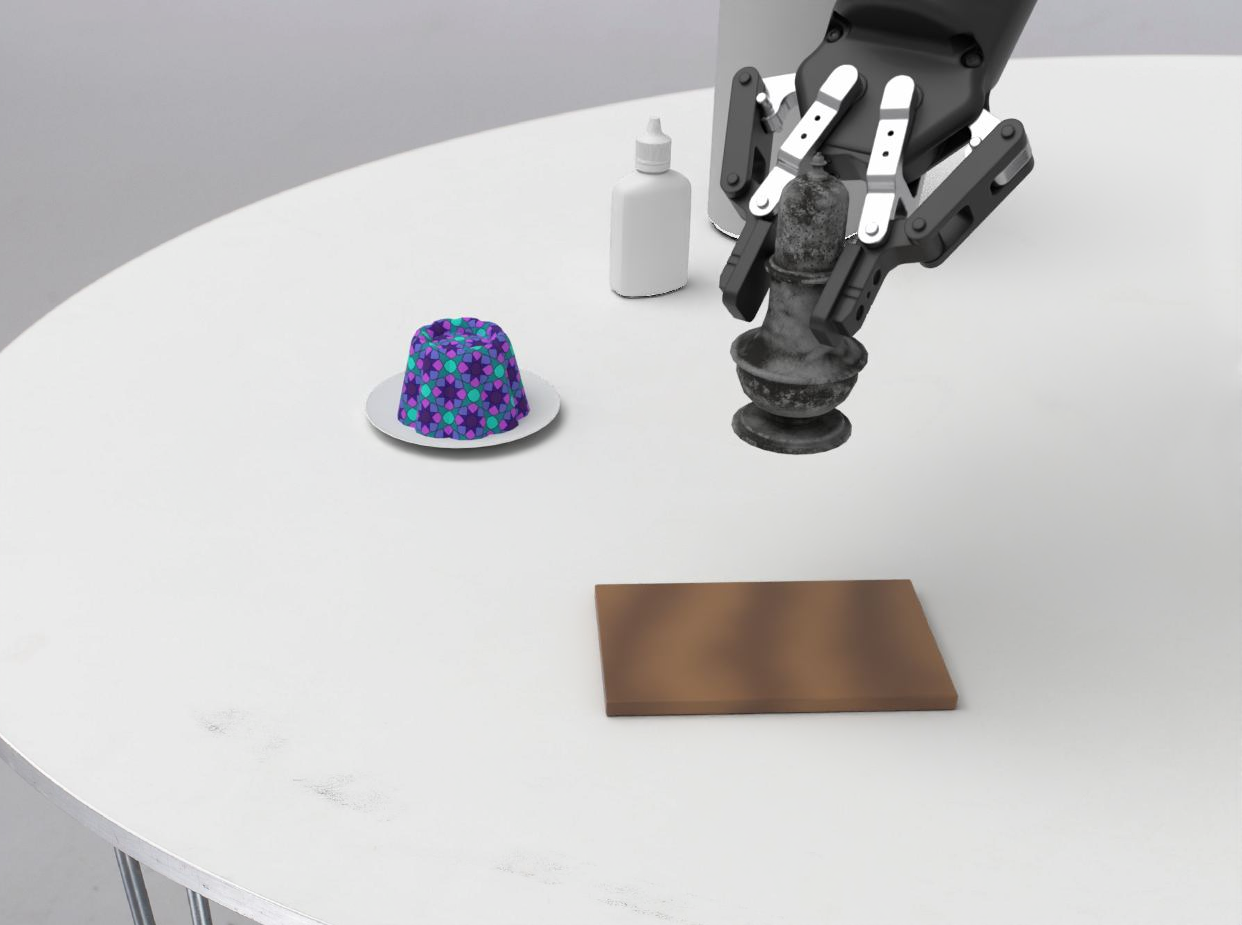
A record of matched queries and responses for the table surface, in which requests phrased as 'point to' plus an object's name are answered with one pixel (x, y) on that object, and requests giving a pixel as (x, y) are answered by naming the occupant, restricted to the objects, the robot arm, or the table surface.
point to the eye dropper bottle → (650, 221)
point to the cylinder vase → (775, 45)
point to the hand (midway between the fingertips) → (779, 323)
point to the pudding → (462, 390)
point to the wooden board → (768, 648)
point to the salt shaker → (799, 329)
